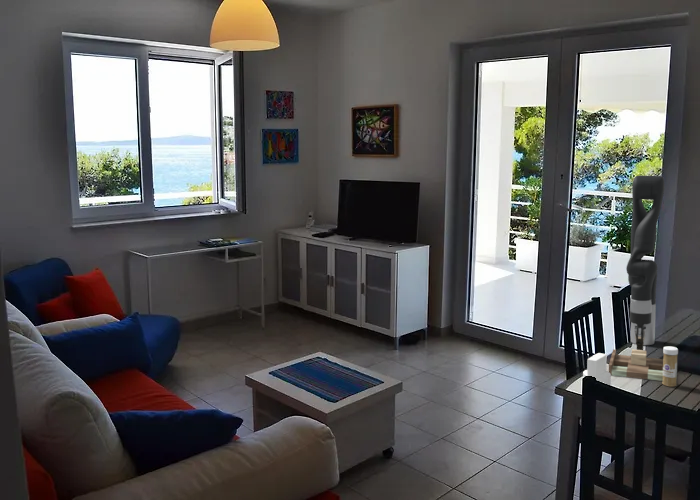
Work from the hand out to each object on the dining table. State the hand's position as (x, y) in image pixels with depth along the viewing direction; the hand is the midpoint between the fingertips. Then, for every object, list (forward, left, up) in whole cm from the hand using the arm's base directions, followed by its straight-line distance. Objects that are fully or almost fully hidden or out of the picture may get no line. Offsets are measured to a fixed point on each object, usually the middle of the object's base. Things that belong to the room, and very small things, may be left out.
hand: (639, 353), depth 242 cm
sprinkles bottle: (+23, +10, -3) cm, 25 cm away
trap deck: (+10, 0, -3) cm, 11 cm away
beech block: (+8, 0, -1) cm, 8 cm away
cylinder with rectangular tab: (+36, -12, -3) cm, 38 cm away
